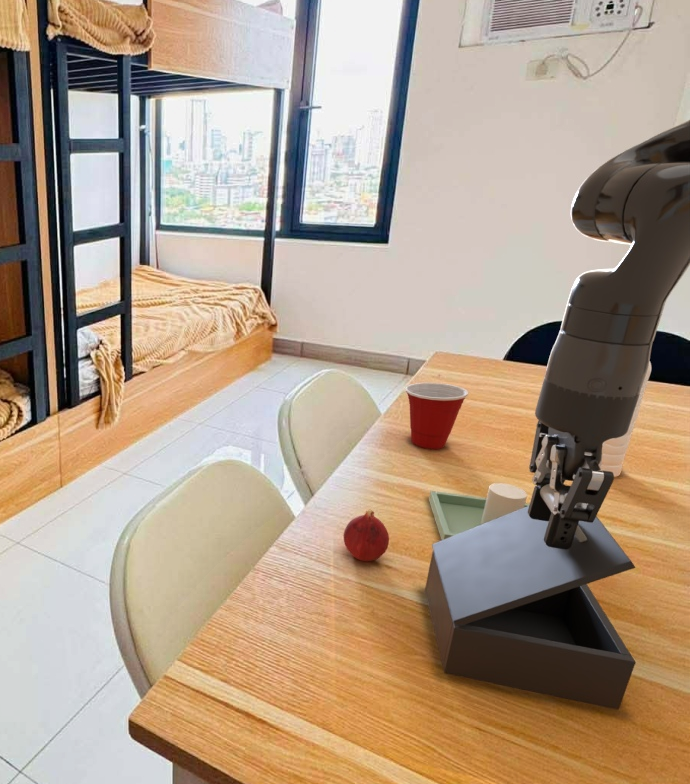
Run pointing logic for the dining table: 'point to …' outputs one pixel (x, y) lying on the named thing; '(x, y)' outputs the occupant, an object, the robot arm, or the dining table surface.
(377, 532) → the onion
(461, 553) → the lid
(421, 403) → the plastic cup
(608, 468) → the water bottle
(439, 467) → the dining table surface
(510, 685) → the dark gray hinged box
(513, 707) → the dining table surface
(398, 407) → the dining table surface
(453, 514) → the drip tray
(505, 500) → the white cylinder
